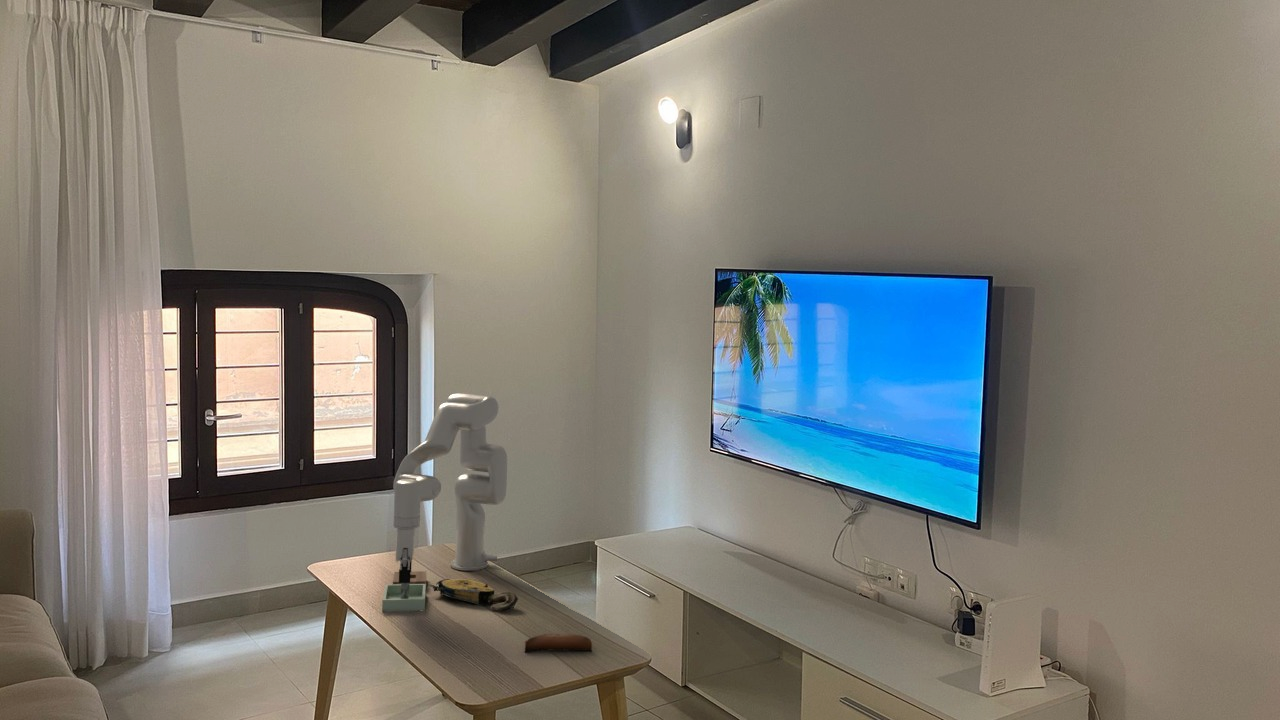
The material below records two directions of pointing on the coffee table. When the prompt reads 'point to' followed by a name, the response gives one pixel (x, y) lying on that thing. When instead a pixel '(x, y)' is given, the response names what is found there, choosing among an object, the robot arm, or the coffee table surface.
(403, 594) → the pin
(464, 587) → the pulley block
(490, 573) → the coffee table surface
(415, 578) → the block
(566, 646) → the sunglasses case
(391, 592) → the tray
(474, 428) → the robot arm
